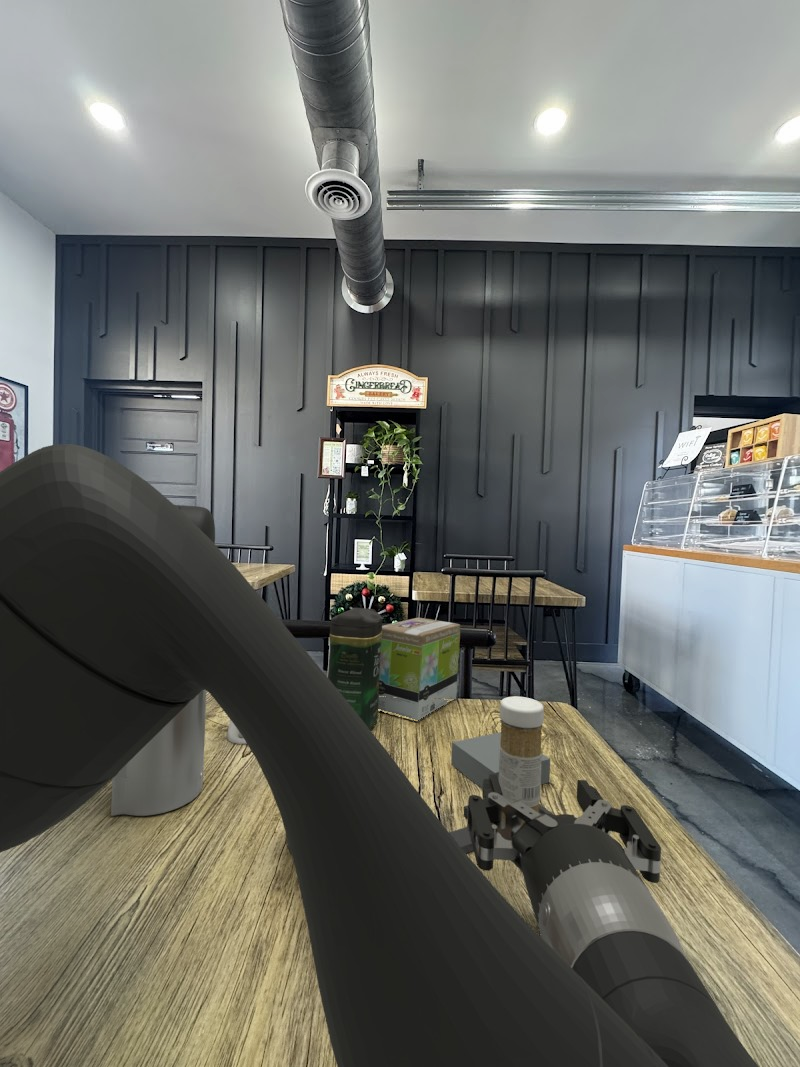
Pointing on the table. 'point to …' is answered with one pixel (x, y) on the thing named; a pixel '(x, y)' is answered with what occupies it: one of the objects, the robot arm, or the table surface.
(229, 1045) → the table surface
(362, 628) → the coffee jar
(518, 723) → the sprinkles bottle
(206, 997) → the table surface
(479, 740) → the gray rectangular block
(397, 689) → the tea box
